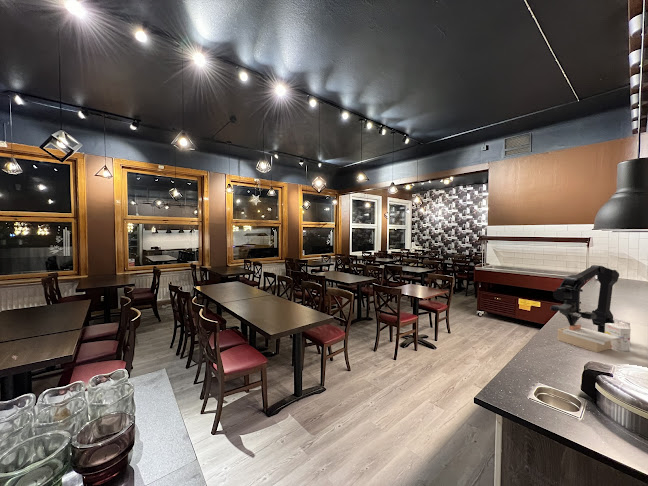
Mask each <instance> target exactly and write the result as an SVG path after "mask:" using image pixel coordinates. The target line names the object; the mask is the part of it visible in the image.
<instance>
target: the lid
mask: <svg viewBox="0 0 648 486" xmlns="http://www.w3.org/2000/svg"><path fill="white" fill-rule="evenodd" d="M568 327H569V328H568V329H563V333H565V334H568V335H571V336H575V337H578V338H582V339H585V340H589V341H592V342H595V343H599V344H602V345H604V343H605V342H607V341H611V340H617V341H620V337H617V336H613V335H609V334H605V333H601V332H598V330H595V329H589V328H585V327H582V324H575V325H572V326H570V325H569V326H568Z"/></svg>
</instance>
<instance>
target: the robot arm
mask: <svg viewBox="0 0 648 486" xmlns="http://www.w3.org/2000/svg"><path fill="white" fill-rule="evenodd" d="M594 277H597V280H598V282H599V284H600V286H599V291H598V300H597V308H596V309H594V310H592V311H582V310H581V308H580V305H581V304H582V302H581V301H580V300H581V292H582V293H583V292H584V291H583V289H582V287H583V286H584V285H585V284H586V282H587V281H588V280H590V279H592V278H594ZM619 277H620V273H619V272H618V270H616V269H611V268H608V267H605V266H603V265H596V264H593V265H591V266H590V267H588V268H586V269H585V270H583V271H581V272H579V273H577V274H571V275H568V276H565V278H564V279H563V280H562V282H561V283H560V285H559V287H556V290H554V291H553V293H552V297H553V298H554V299H555V300H556V301H563V304H560V305H559V304H553V305H551V306H550V311H553V312H559V313H560V314H562V315H563V316H564V317H565V318H566V320H567V322H568V324H569V326H572V325H576V324H577V322H578V320H579V319H586V320H591V322H592V324H593V326H597V331H598V332H601V333H605V323H614V315H613V313H612V312H611V303H612V302H611V301H612V294H613V286H614V285H615V284H616V283H617V282H618V281H619Z"/></svg>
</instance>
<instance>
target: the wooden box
mask: <svg viewBox="0 0 648 486" xmlns="http://www.w3.org/2000/svg"><path fill="white" fill-rule="evenodd" d="M568 328H569V326H567V327H562V328H557V340H558V341H560V342H563V343H567V344H570V345H574V346H576V347H578V348H579V347H580V348H582V349H586V350H588V351H591V352H594V353H600V352H603V351H607V350H611V349H612V347H611V341H607V342H605V343H604V345H602V344H599V343H595V342H592V341H589V340H585V339H582V338H578V337H575V336H571V335H568V334H565V333H563V329H568Z"/></svg>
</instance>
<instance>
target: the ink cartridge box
mask: <svg viewBox="0 0 648 486" xmlns="http://www.w3.org/2000/svg"><path fill="white" fill-rule="evenodd" d="M613 320H614V323H605V334H609V335H613V336H617V337H620V341H617V340H611V349H615V350H617V351H619V352H625V351H626V352H629V351H631V350H630V347H631V345H630V344H631V323H630V322H628V321H625V320H622V319H618V318H616V317H613Z"/></svg>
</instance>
